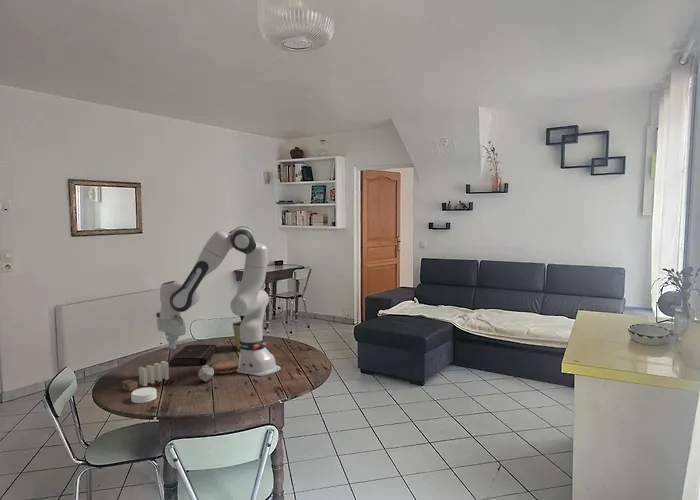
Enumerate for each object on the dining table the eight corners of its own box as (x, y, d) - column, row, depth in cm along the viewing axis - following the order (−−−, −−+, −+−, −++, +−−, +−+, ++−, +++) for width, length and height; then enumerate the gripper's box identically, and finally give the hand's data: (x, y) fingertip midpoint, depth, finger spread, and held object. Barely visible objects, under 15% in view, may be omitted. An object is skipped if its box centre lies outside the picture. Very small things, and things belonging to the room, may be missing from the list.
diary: (217, 352, 266) (217, 343, 265) (206, 366, 241) (206, 357, 240) (184, 353, 264) (183, 344, 264) (169, 367, 239) (169, 357, 239)
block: (138, 389, 207) (137, 382, 207) (130, 391, 205) (130, 384, 204) (130, 386, 212) (130, 379, 211) (122, 388, 209) (122, 381, 209)
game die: (203, 390, 215) (190, 377, 210) (204, 378, 222) (191, 365, 217) (220, 380, 215) (207, 367, 210) (220, 369, 222) (208, 355, 217)
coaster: (160, 394, 202) (160, 386, 202) (151, 403, 192) (151, 395, 192) (137, 394, 201) (136, 387, 201) (127, 404, 191) (126, 395, 191)
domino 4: (169, 378, 221) (168, 362, 220) (166, 379, 219) (165, 363, 219) (164, 377, 223) (163, 360, 223) (161, 377, 222) (160, 361, 222)
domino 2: (154, 383, 215) (154, 366, 214) (151, 384, 214) (151, 367, 213) (149, 381, 218) (149, 364, 217) (147, 382, 216) (146, 365, 216)
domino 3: (162, 381, 218) (161, 364, 217) (159, 381, 217) (158, 365, 216) (157, 379, 220) (156, 362, 220) (154, 380, 219) (153, 363, 219)
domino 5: (176, 348, 227) (175, 332, 227) (173, 349, 226) (172, 333, 226) (171, 347, 230) (170, 331, 229) (168, 347, 229) (167, 331, 228)
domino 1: (147, 385, 212) (146, 368, 212) (144, 386, 211) (143, 369, 210) (142, 383, 215) (141, 366, 214) (139, 384, 214) (138, 367, 213)
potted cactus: (265, 346, 274) (264, 296, 272) (247, 352, 261) (245, 300, 259) (246, 342, 282) (245, 294, 280) (227, 349, 269) (225, 298, 267)
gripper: (188, 315, 223) (189, 343, 224) (165, 311, 236) (167, 337, 237) (176, 317, 218) (177, 346, 219) (154, 313, 231) (155, 340, 232)
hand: (172, 341), depth 228 cm, fingers closed on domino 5, 4 cm apart
